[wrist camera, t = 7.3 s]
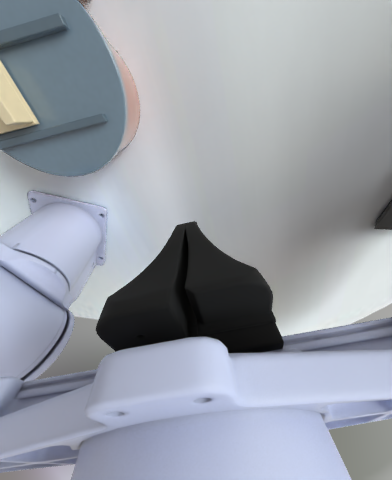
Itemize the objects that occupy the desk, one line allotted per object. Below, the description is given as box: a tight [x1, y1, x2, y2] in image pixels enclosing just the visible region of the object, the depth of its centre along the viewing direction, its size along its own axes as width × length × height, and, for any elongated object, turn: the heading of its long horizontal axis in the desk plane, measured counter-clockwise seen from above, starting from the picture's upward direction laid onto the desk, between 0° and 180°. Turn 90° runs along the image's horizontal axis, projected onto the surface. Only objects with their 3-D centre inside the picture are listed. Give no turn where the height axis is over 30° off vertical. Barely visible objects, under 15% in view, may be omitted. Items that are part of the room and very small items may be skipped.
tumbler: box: [0, 0, 140, 177], centre depth 12 cm, size 9×9×7 cm
